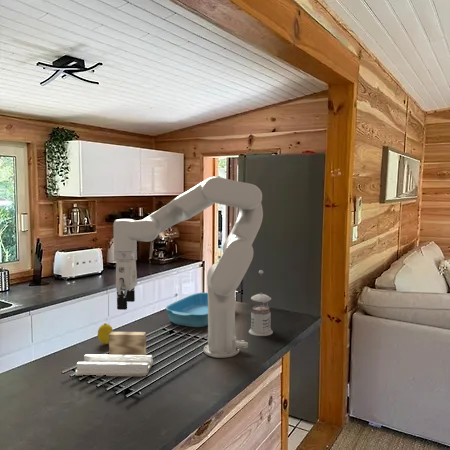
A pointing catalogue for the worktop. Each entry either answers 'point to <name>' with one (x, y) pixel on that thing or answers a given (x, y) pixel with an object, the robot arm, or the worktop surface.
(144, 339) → the tan wooden block
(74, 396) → the worktop surface
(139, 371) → the bottom track
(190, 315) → the casserole dish
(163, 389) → the worktop surface
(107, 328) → the lemon
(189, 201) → the robot arm
